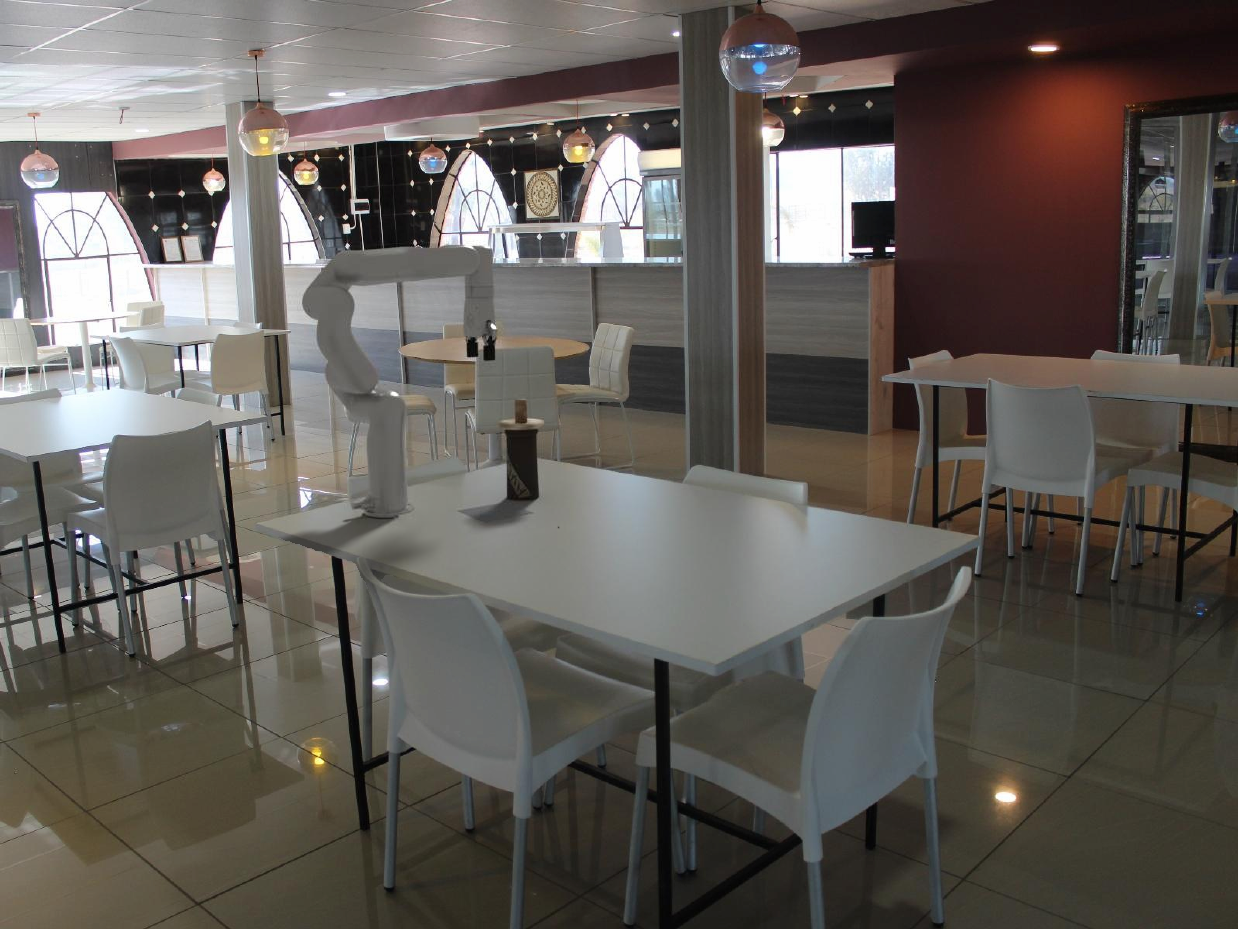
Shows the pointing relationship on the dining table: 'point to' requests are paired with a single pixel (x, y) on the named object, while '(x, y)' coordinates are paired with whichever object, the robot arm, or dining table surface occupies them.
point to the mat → (495, 512)
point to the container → (522, 465)
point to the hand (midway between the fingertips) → (480, 358)
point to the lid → (521, 418)
